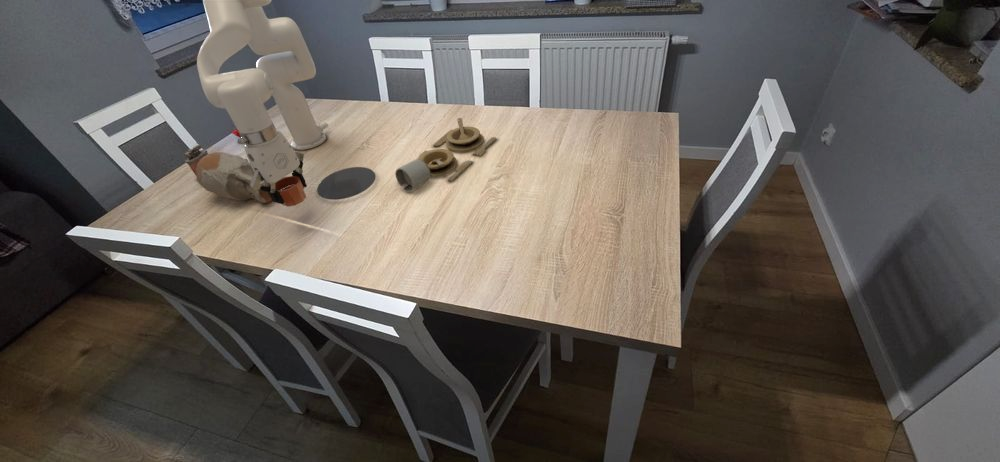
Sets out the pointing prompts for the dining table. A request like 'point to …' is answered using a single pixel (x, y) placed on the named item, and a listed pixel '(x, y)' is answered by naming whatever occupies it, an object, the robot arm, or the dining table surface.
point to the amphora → (229, 177)
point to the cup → (291, 190)
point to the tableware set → (455, 141)
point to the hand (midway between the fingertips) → (291, 193)
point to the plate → (346, 183)
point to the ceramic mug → (413, 174)
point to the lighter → (195, 157)
